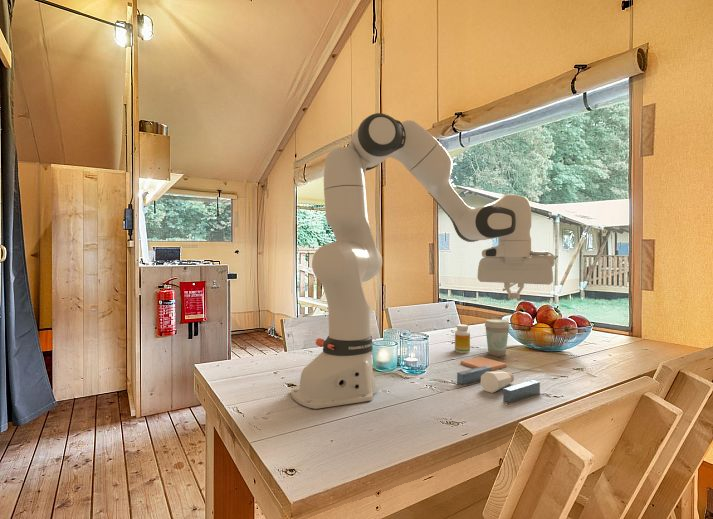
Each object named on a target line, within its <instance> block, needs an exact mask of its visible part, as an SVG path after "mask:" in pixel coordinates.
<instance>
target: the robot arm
mask: <svg viewBox="0 0 713 519" xmlns="http://www.w3.org/2000/svg"><path fill="white" fill-rule="evenodd" d="M388 158H392V159H394V160H397V161H398V162H399V163H401V164H402V165H403V166H404V168H406V170H407V171H408V172H409V173H410V174H411V175H412V176H413V178H415V179H416V180H417V181H418V182H419V183H420V185H422V187H424V189H425V190H426V191H427V192H428V194H429V195H430V196H431V197H432V199H433V200H434V201H435V202H436V204H437V205H438V206H439V207H440V209H442V211H443V212H444V213H445V214H446V216H447V217H448V218H449V220H450V221H451V222H452V224H453V228H454V231H455V233H456V234H457V236H458V237H459V238H460V239H462V240H463V241H464V242H467V243H475V242H478V241H487V240H495V239H496V238H497V245H496V246H492V247H489V248H485V249H483V250H482V251H481V256H482V258H481V259H480V260H479V262H478V268H477V280H478V282H480V283H498V284H499V283H501V284H503V285H504V286H503V287H504V289H505V290H506V292H507V298H508V300H520V298H521V296H520V295H521V292H522V291H523V290H524V287H525V285H546V286H549V285H551V284H553V282H554V274H553V273H554V271H553V267H554V265H555V262H556V261H555V255H554V254H553V253H552V252H550V251H545V250H543V251H538V250H535V251H534V250H532V238H531V228H532V208H531V203H530V200H529V198H527V197H526V196H525V195H522V194H518V193H517V194H516V193H515V194H513V193H508V194H504V195H501V197H500V198H498V199H497V200H494V201H492V202H491V203H488V204H486V205H485V204H484V205H482V206H479V207H471V206H469V205H468V204H466V202H465V201H464V200H463V199H462V197H461V196H460V195H459V194H458V193H457V192H456V190H455V189H454V188H453V186H452V183H451V175H452V171H453V159H452V158H451V156H450V153H449V152H448V151H447V149H446V148H445V147H444V146H443V145H442V144H441V143H440V141H438V140H437V139H436V137H435V136H433V135H432V134H431V133H430V132H429V131H427V130H426V129H425V128H424V127H423V126H422V125H421V124H418V122H416V121H415V120H411V119H410V120H409V119H408V120H404V121H402V122H401V121H400V120H398V119H395V118H393V117H392V116H390V115H389V114H385V113H379V112H376V113H373V114H371V115H369V116H367V117H365V118H364V119H363V120H362V122H361V123H360V124H359V126H358V127H357V129H356V130H355V131H354V132H353V134H352V137H351V139H350V140H349V143H348V145H347V146H339V147H336V148H333V149H332V150H330V151H329V152H328V153H327V154H326V157H325V159H324V160H325V161H324V168H323V195H324V196H323V197H324V198H323V199H324V209H325V221H326V222H327V225H328V226H330V228H331V230H332V233H333V234H334V238H335V241H333V242H329V243H326V244H324V245H321V246H320V247H318V249H316V251H315V252H314V254H313V257H312V260H311V269H312V271H313V274H314V276H315V278H317V279H318V281H319V282H320V284H321V285H322V288H323V291H324V294H325V295H324V296H325V299H326V303H327V308H328V309H327V310H328V336H327V337H326V339H325V340H324V339H322V338H320V337H318V338H316V340H315V345H316V346H317V347H320V348H322V351H321V352H320V353H319V354H318V355H317V356H316V357H315V358H314V359H313V360H311V362H309V363H308V364H307V365H306V366H305V367H304V368H303V369H302V371H301V375H300V378H299V385H298V386H294V387H292V388H291V392H290V396H291V398H292V399H293V400H294V401H295V402H297V403H298V404H300V405H301V406H304V407H306V408H309V409H315V410H317V409H322V408H323V409H324V408H329V407H337V406H343V405H350V404H356V403H357V404H358V403H364V402H368V401H372V400H373V397H374V396H373V395H375V394H376V392H377V391H378V388H377V384H376V381H375V375H374V370H373V360H372V352H373V336H372V335H371V334H372V333H371V331H372V330H371V329H372V328H371V327H372V326H371V325H372V324H371V322H372V321H371V317H372V316H371V314H372V313H371V312H372V311H371V310H372V309H371V306H370V303H369V302H368V301H367V299H366V295H365V293H364V288H363V283H364V282H368V281H370V280H372V279H373V278H375V277H376V276H377V275H378V274H379V273H380V272H381V270H382V267H383V256H382V255H381V252H380V251H379V250H378V248H377V245H376V242H375V239H374V235H373V232H372V229H371V225H370V222H369V221H370V220H369V214H368V202H367V190H366V189H367V188H366V180H365V178H366V171H369V170H372V169H375V168H377V167H378V166H379V165H381V163H383V162H385V161H386V160H387V159H388ZM511 284H517V288H519V289H518V290H517V291H516V292H513V291H511V289H510V287H511Z"/></svg>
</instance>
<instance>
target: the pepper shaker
mask: <svg viewBox="0 0 713 519" xmlns="http://www.w3.org/2000/svg"><path fill="white" fill-rule="evenodd" d="M514 381H515V376H514V374H513V373H511V372H508V371H507V372H505V371H491V372H485V373H484V374H483V375H482V376H481V381H480V386H481V387H482V389H484V392H488V393H491V394H493V393H496V392H497V391H499V390H501V389H503V388H506V387H507V386H508V385H509V384H511V383H513V382H514Z"/></svg>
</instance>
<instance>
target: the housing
mask: <svg viewBox="0 0 713 519" xmlns="http://www.w3.org/2000/svg"><path fill="white" fill-rule="evenodd" d="M485 372H492V371H491V367H488V366H483V367H478V368H471V369H467V370H462V371H458V372H456V374H457V375H456V382H457V384H458V385H461V386H465V385H469V384H472V383H477V382H481V376H482V375H483V374H484V373H485ZM502 389H503V391H502V392H503V393H502V395H503V398H502V399H503V400H502V401H503V402H506V403H509V404H512V403H515V402H518V401H521V400H525V399H528V398H530V397H534V396H538V395H540V394H541V392H540V391H541V383H540V381H538V380H535V379H532V380H528V381H524V382H521V383H518V384H514V385H510V386H508V387H507V386H506V387H503V388H502Z"/></svg>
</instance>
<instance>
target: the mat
mask: <svg viewBox="0 0 713 519" xmlns="http://www.w3.org/2000/svg"><path fill="white" fill-rule="evenodd" d="M459 362H460V365H462V366H466V367H469V368H471V369H474V368H478V367H483V366H488V367H491V372H493V371H495V370H499V369H503V368H507V362H502V361H499V360H495V359H491V358H487V357H484V356H477V357H474V358H473V357H472V358H468V359H464V360H460V361H459Z"/></svg>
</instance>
